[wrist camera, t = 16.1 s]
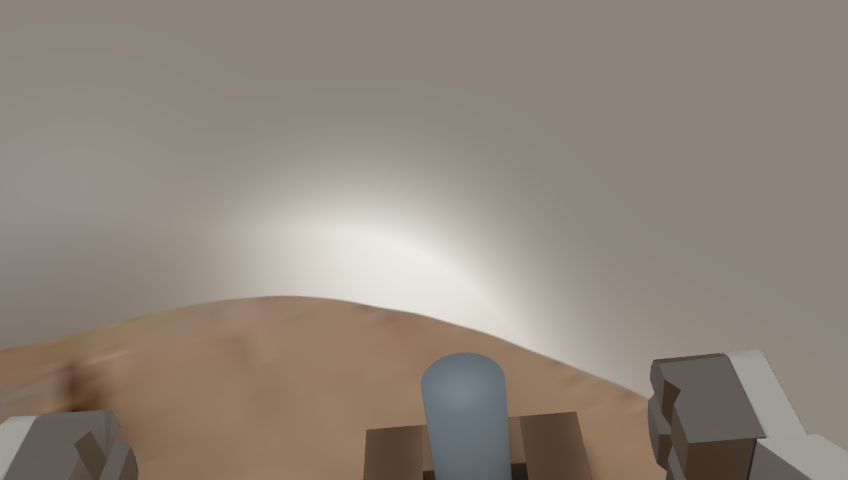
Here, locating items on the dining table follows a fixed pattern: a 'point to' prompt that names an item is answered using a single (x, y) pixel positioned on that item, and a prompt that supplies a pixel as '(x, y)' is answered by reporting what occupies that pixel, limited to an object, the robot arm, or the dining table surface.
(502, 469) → the peg
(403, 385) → the dining table surface
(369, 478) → the socket
